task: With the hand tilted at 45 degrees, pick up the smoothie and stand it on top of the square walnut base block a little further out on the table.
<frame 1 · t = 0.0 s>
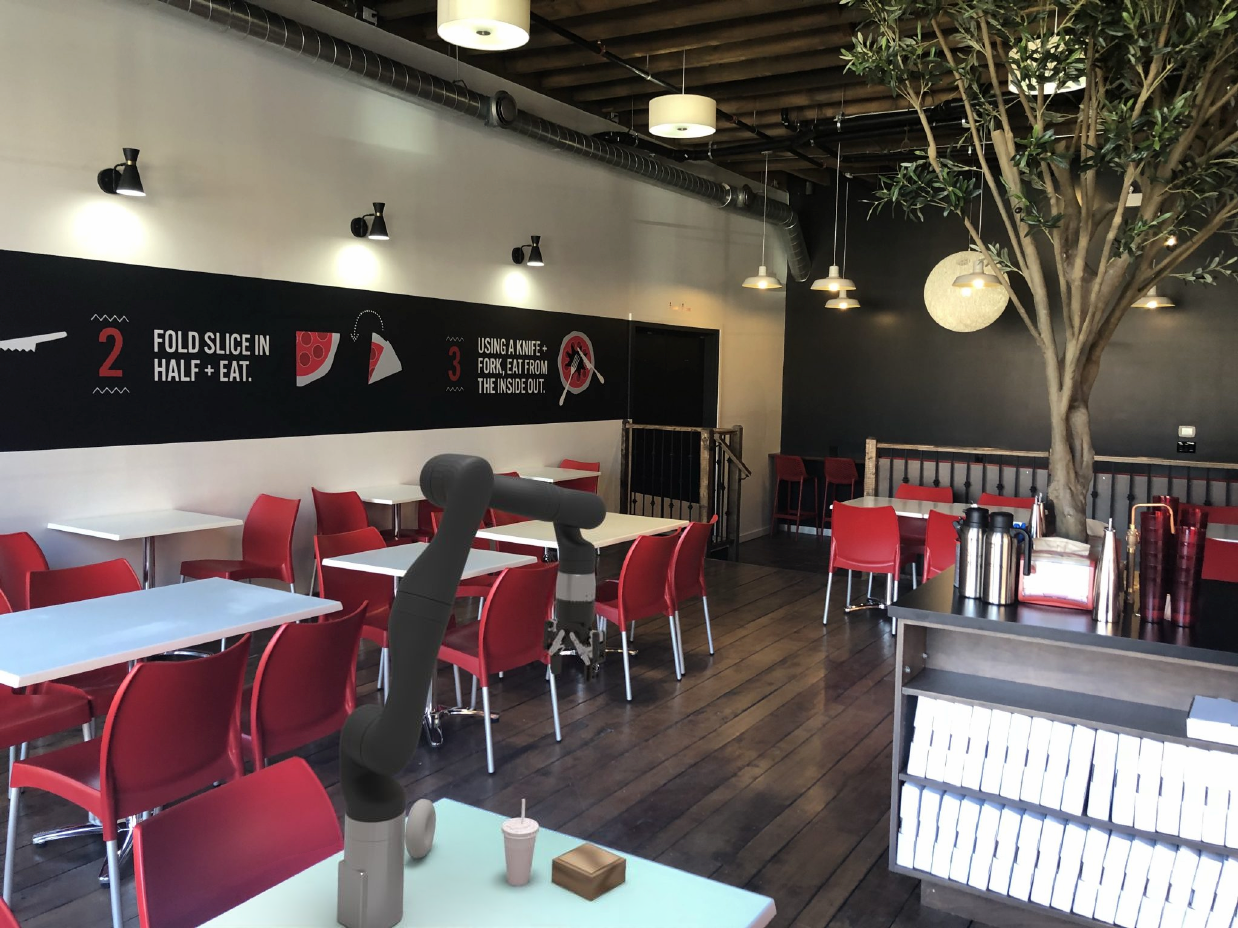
hand: (572, 678, 182), 29 cm above the table, tool pointing down, fingers open, 8 cm apart
smoothie: (518, 881, 162), on the table
donut: (419, 856, 169), on the table
base: (588, 881, 162), on the table
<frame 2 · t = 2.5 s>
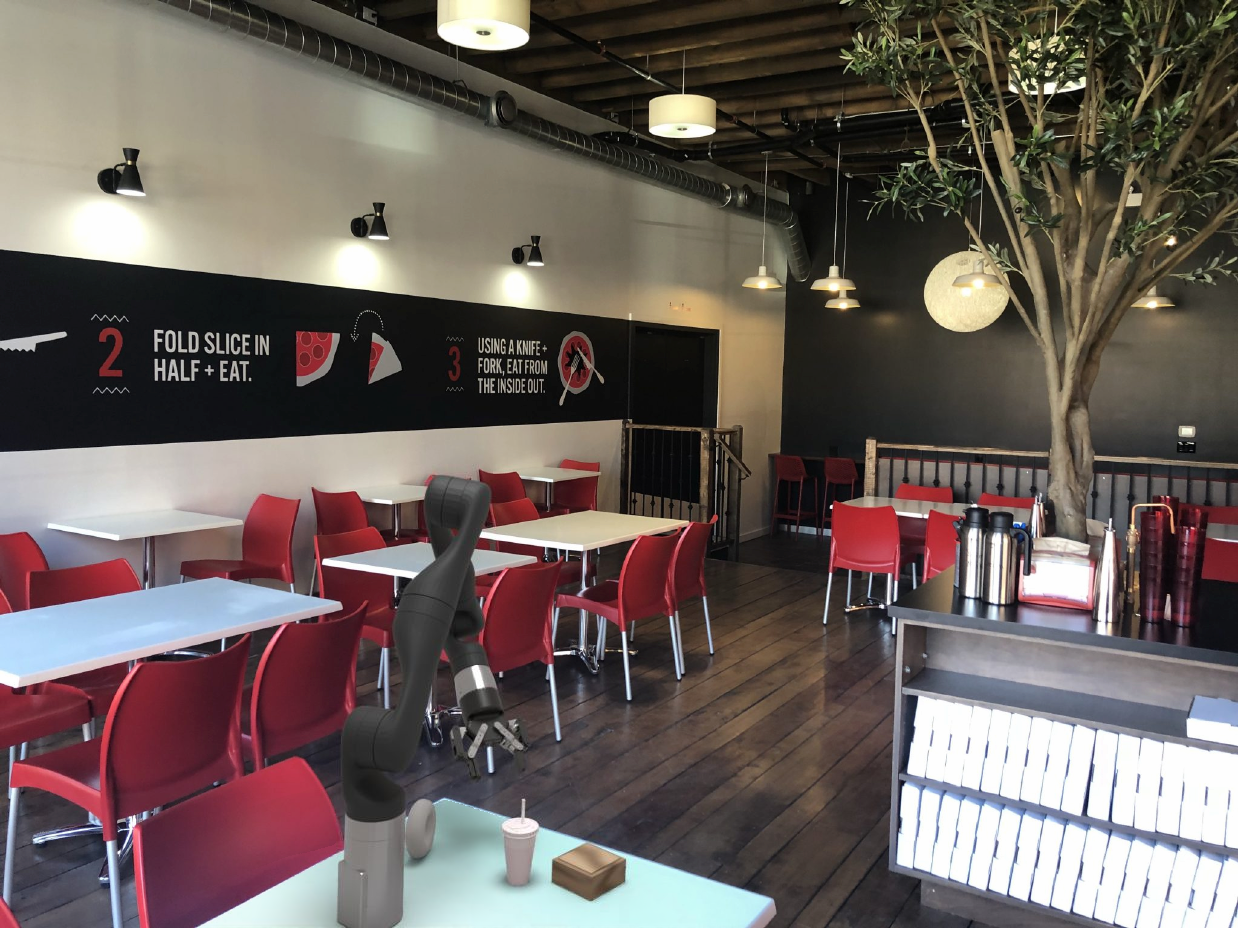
hand: (500, 776, 169), 15 cm above the table, tool tilted 45°, fingers open, 8 cm apart
nothing on the table moved.
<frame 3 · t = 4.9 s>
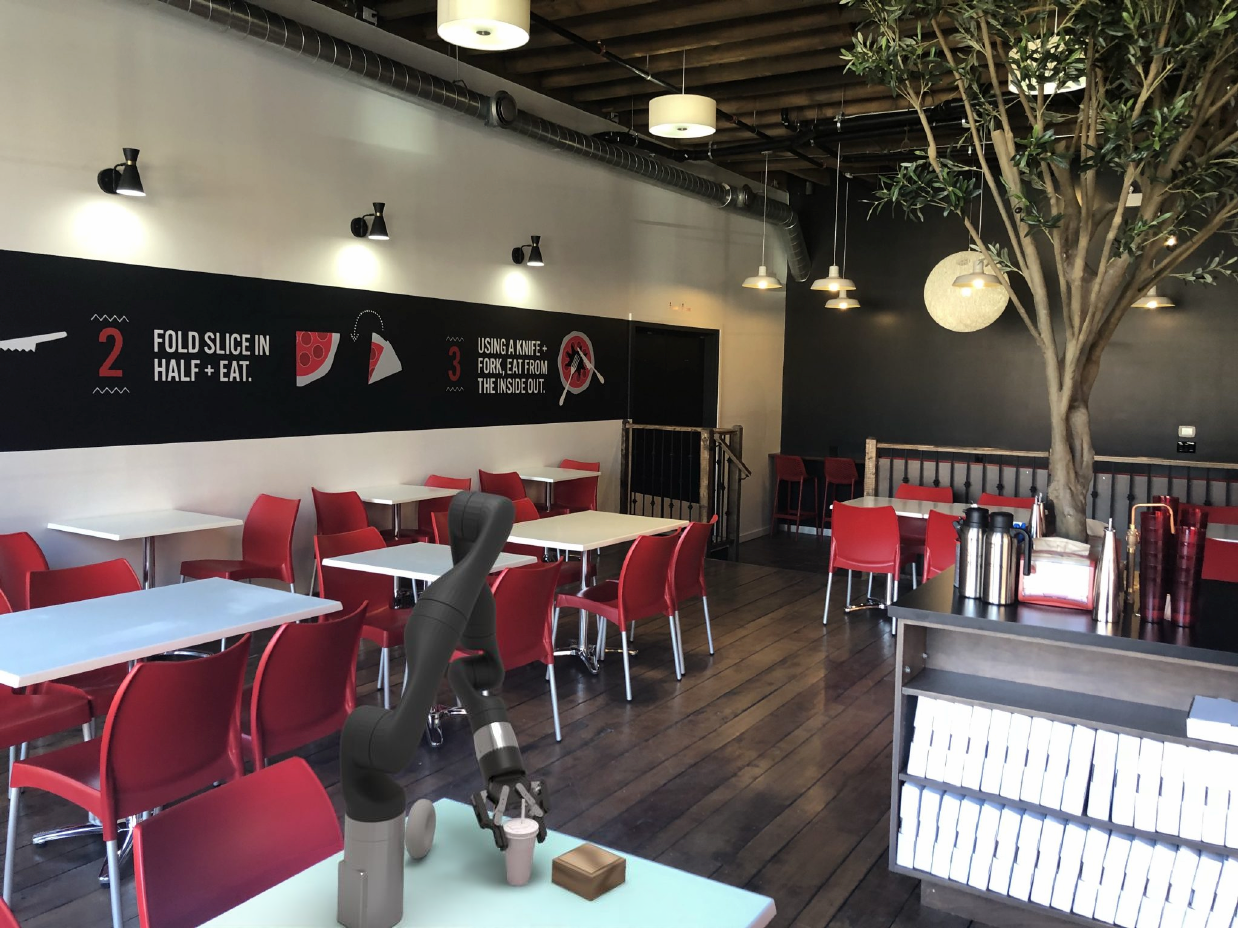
hand: (523, 845, 160), 7 cm above the table, tool tilted 45°, fingers closed on smoothie, 6 cm apart
smoothie: (518, 881, 162), on the table, touching gripper
everything else where it was.
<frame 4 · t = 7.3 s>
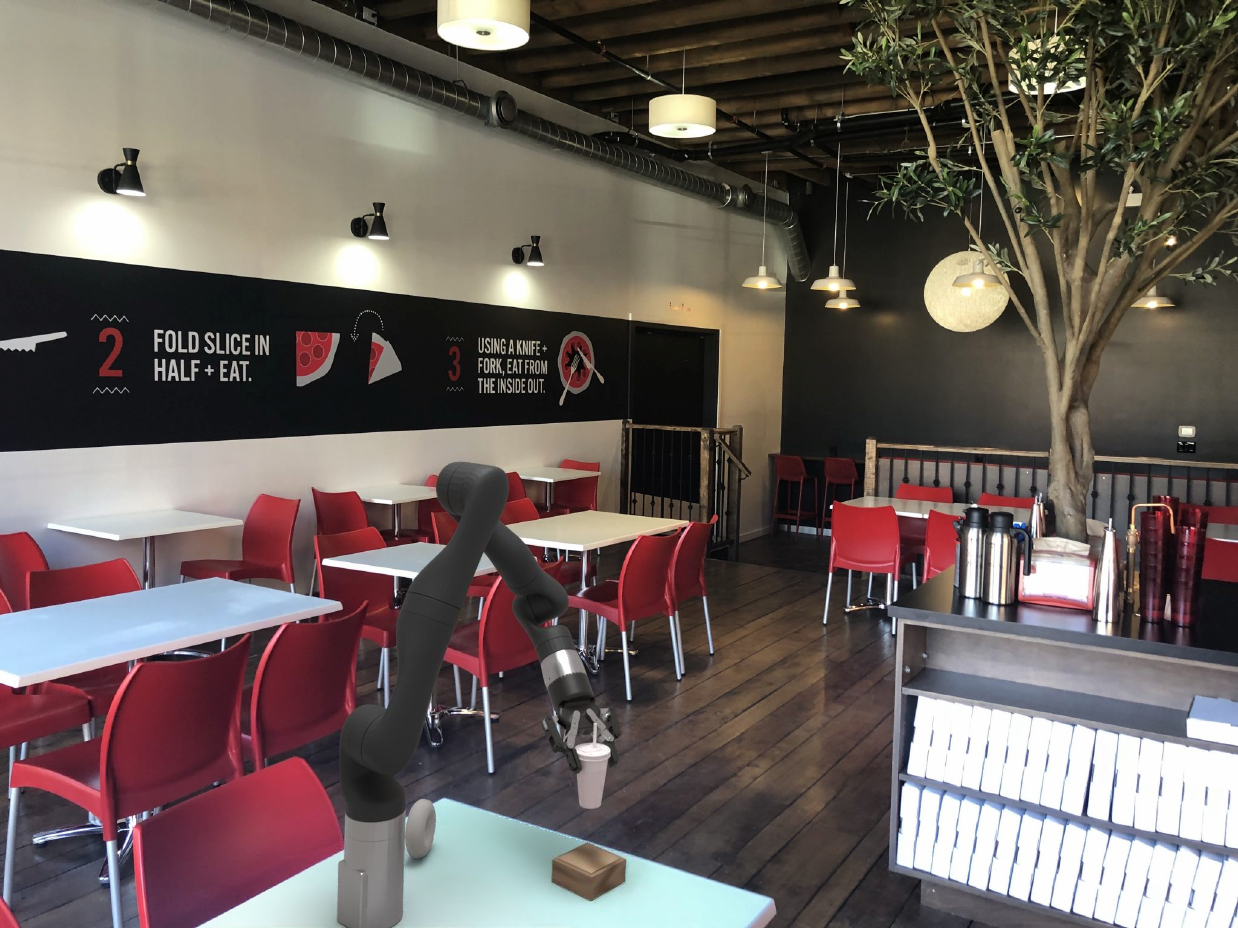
hand: (596, 768, 160), 20 cm above the table, tool tilted 45°, fingers closed on smoothie, 6 cm apart
smoothie: (590, 805, 162), point 13 cm above the table, touching gripper
everything else where it was.
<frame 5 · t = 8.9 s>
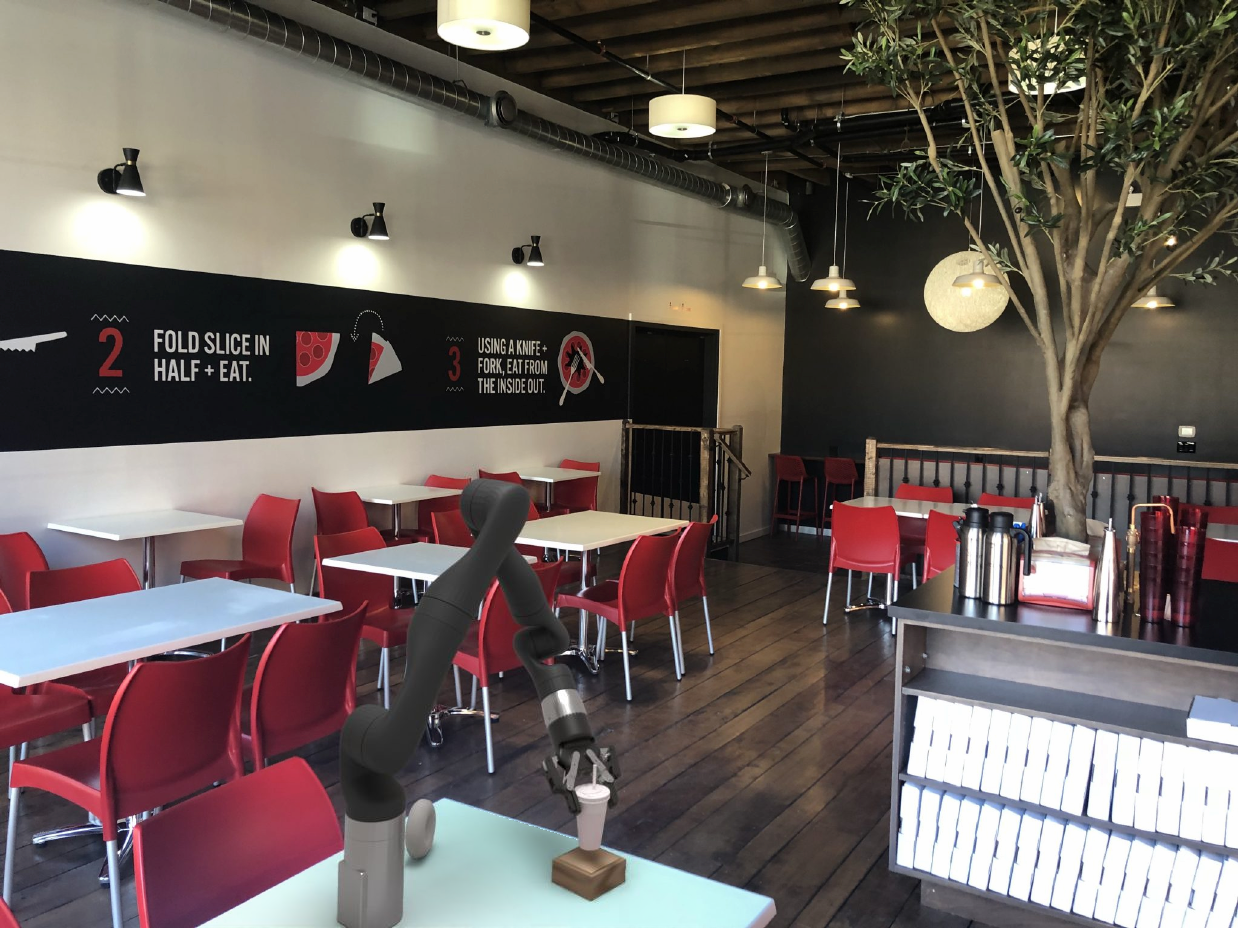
hand: (595, 810, 160), 13 cm above the table, tool tilted 45°, fingers closed on smoothie, 6 cm apart
smoothie: (589, 846, 162), point 6 cm above the table, touching gripper
everything else where it was.
when the fingers open (12 cm above the table, at t = 9.9 s): smoothie stays where it is, resting on base.
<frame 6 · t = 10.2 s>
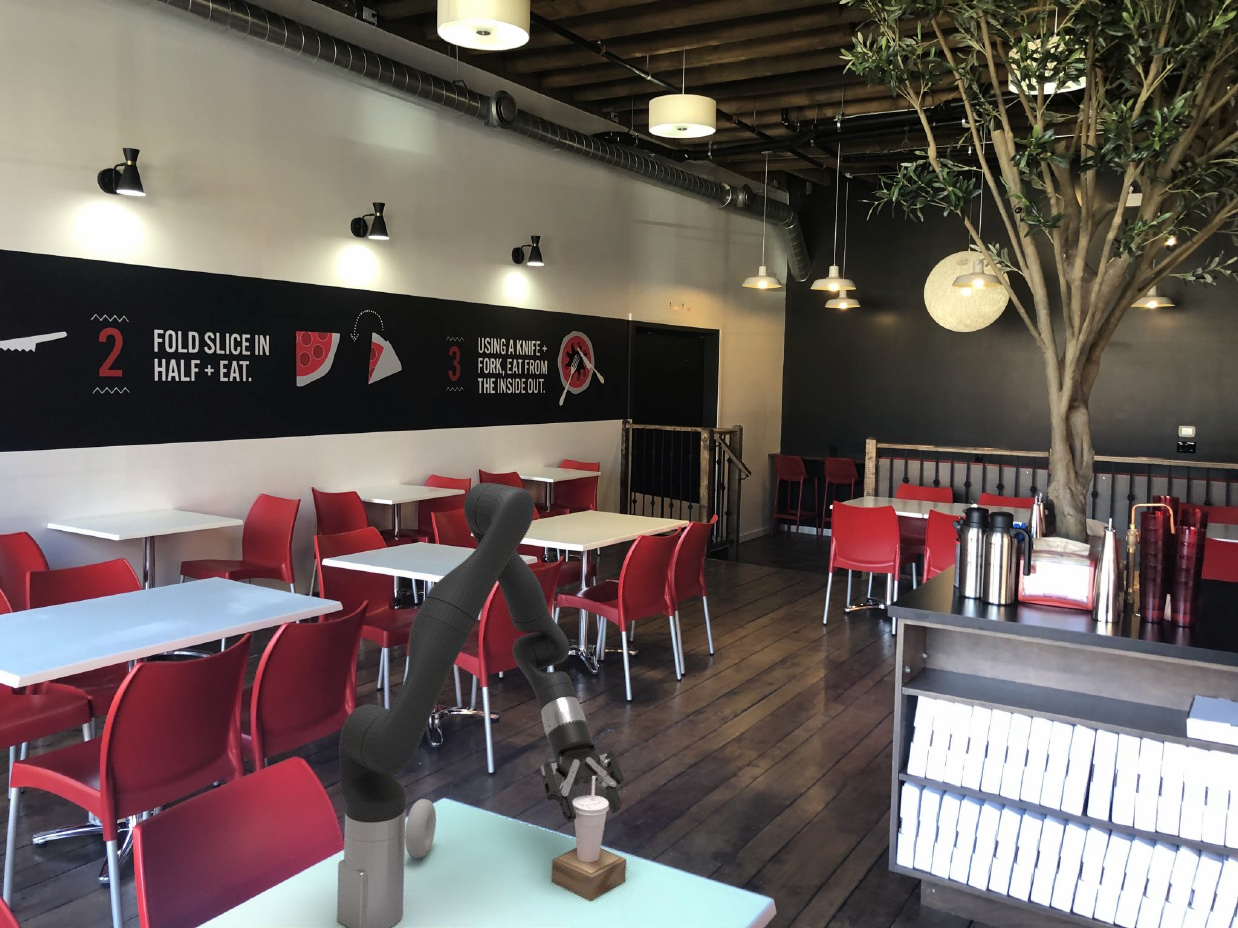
hand: (594, 815, 161), 12 cm above the table, tool tilted 45°, fingers open, 8 cm apart
smoothie: (588, 858, 162), point 4 cm above the table, touching base
everything else where it was.
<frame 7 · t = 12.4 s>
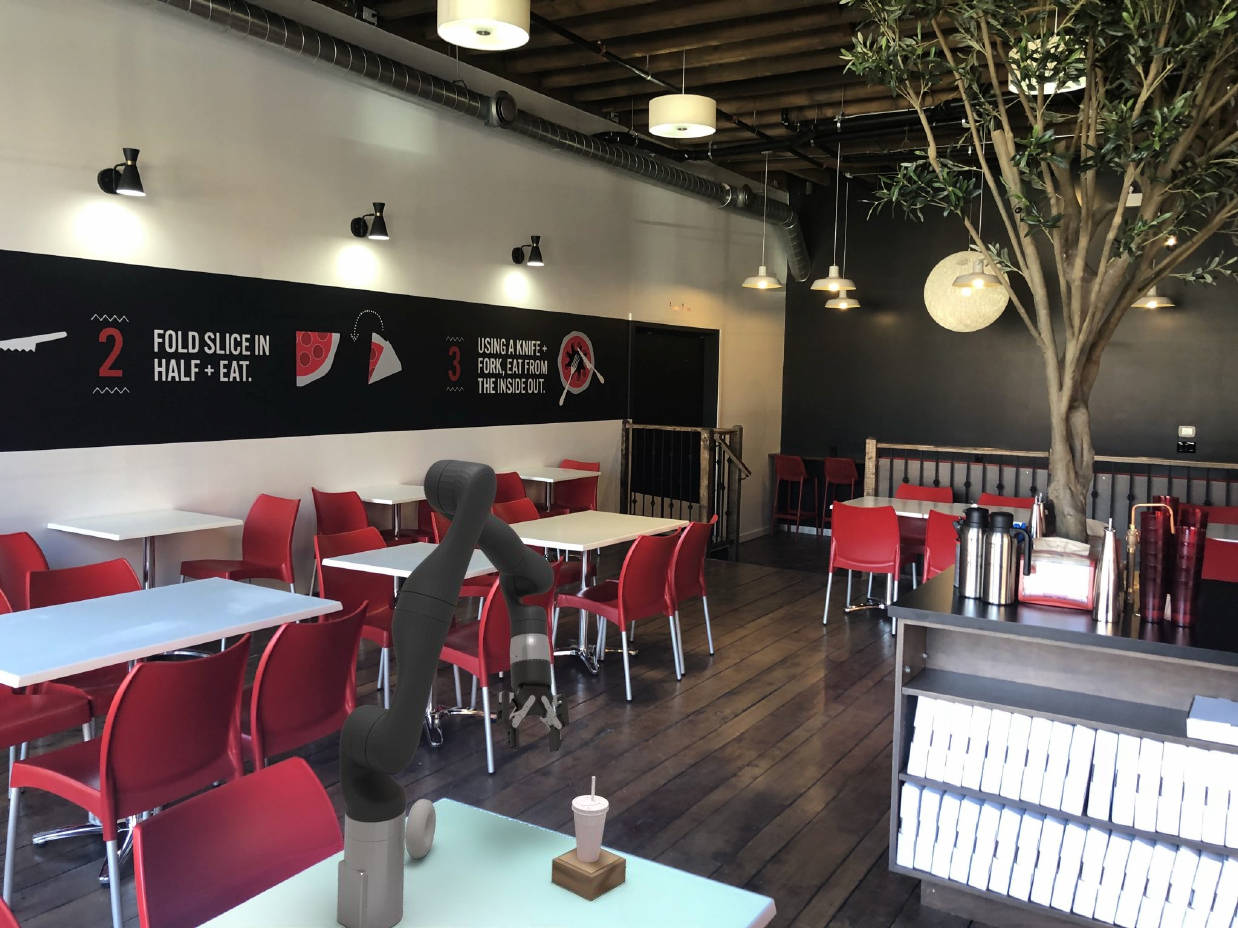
hand: (535, 751, 170), 19 cm above the table, tool tilted 30°, fingers open, 8 cm apart
nothing on the table moved.
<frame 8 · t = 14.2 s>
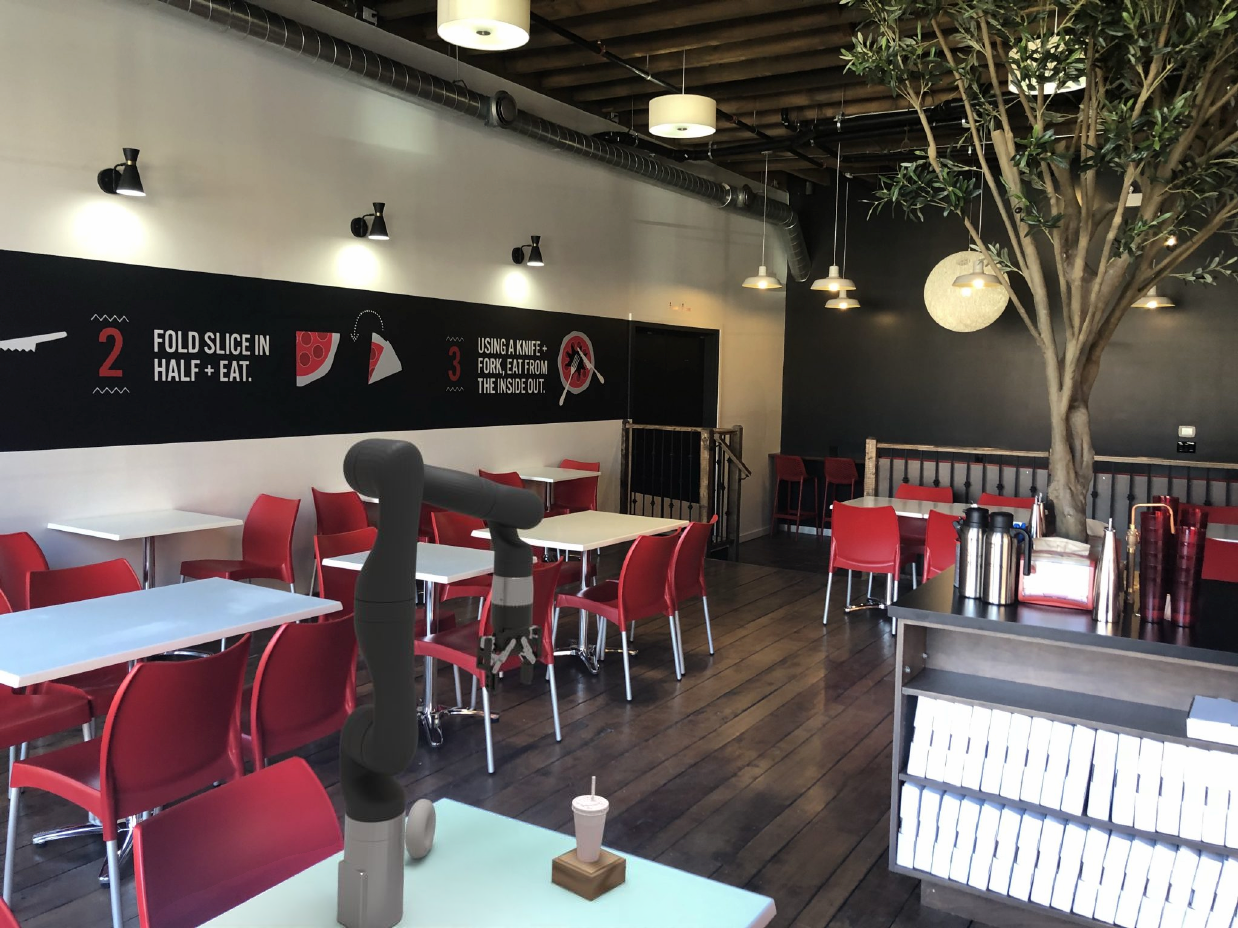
hand: (509, 687, 171), 30 cm above the table, tool pointing down, fingers open, 8 cm apart
nothing on the table moved.
at the end: smoothie inside the target area on the base (0.3 cm from its centre), point 4.1 cm above the base's base; smoothie tilted 0°; the gripper is holding nothing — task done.
